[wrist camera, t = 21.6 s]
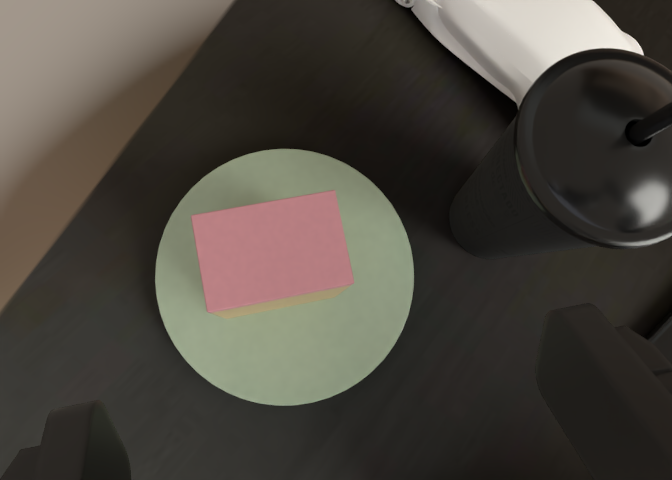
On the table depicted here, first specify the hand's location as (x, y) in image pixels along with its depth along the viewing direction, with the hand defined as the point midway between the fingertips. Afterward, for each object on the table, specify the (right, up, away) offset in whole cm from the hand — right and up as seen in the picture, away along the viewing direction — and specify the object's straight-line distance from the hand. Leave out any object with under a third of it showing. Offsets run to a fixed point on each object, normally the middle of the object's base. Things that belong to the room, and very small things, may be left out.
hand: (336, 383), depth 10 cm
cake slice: (-3, +1, +21) cm, 21 cm away
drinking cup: (+9, +4, +24) cm, 26 cm away
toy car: (+11, +15, +26) cm, 32 cm away
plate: (-3, +1, +22) cm, 23 cm away
